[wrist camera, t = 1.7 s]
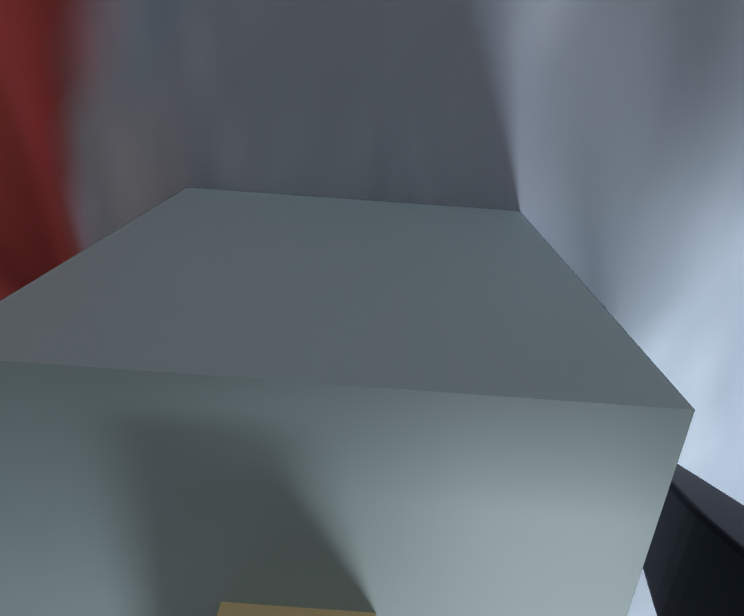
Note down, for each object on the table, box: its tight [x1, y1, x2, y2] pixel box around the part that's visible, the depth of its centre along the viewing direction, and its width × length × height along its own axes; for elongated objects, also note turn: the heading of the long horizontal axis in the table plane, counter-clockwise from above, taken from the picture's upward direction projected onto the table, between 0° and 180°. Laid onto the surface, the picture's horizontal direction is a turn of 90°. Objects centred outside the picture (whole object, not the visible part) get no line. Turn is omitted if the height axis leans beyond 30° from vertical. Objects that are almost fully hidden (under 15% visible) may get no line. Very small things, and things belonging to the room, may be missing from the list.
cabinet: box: [0, 187, 695, 616], centre depth 7 cm, size 7×5×7 cm
